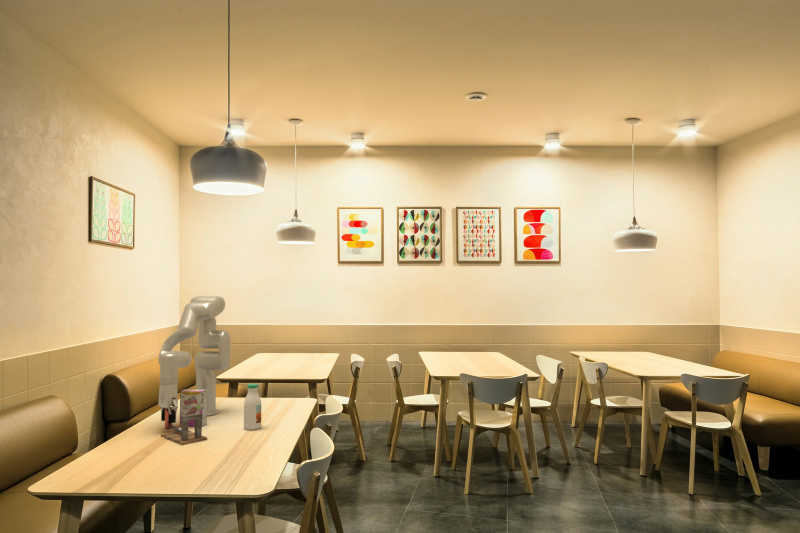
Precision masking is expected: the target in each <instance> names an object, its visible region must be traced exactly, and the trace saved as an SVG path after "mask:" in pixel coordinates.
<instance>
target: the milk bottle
mask: <svg viewBox="0 0 800 533" xmlns="http://www.w3.org/2000/svg"><path fill="white" fill-rule="evenodd" d="M258 388H259V384H258V383H248V384H247V394H246V396H245V399H244V402H243V429H244V430H246V431H255V430H254V429H256V430H259V428H260V429H261V428H262V399H261V396H260V394H259V392H258Z"/></svg>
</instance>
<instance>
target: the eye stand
mask: <svg viewBox="0 0 800 533" xmlns="http://www.w3.org/2000/svg"><path fill="white" fill-rule="evenodd" d="M189 420H195V427H194V431H191V430H189V427H190V426H189ZM180 428H181V433H179V432H176V431H174V430H173V431H171V432H164V433H161V434H160V437H161V438H163V437H164V439H166V440H168V441H171V442H173V443H174V444H175V443H176V444H177V445H180V446H184V445H189V444H193V443H199V442H203V441H208V436H205V435H202V433H203V430H202V429H203V427H202V414H201V413H197V414H191V415H185V416H181V426H180Z"/></svg>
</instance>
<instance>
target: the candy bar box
mask: <svg viewBox="0 0 800 533" xmlns="http://www.w3.org/2000/svg"><path fill="white" fill-rule="evenodd" d="M197 413H201V414H202V428H203V427H204V426H206V425H207V423H208V422H207V419H208V418H207V417H208V416H207V390H196V389H193V388H191V389H190V388H187V389H183V390H180V392H179V426H180V427H181V416H185V415H191V414H197ZM189 427H190V428H191V427H194V428H195V420H189Z"/></svg>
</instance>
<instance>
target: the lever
mask: <svg viewBox="0 0 800 533" xmlns="http://www.w3.org/2000/svg"><path fill="white" fill-rule="evenodd" d="M171 410H172V409H171ZM168 414H169V409H168V408H165V421H164V430H167V431H168V430H171V431H173V432H174V431H176V432H179V433H181V427H178V426H176V425H173V423H171V424H169V423H168Z"/></svg>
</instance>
